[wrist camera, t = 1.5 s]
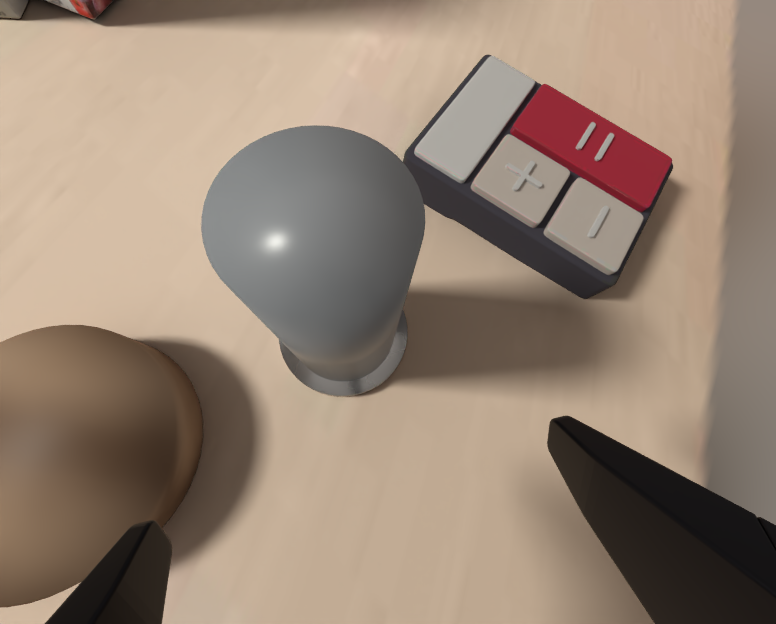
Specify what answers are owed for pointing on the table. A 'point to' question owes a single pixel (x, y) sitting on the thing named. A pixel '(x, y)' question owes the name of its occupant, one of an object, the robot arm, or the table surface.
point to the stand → (86, 451)
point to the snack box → (84, 6)
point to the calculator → (538, 176)
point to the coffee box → (12, 8)
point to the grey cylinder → (320, 250)
